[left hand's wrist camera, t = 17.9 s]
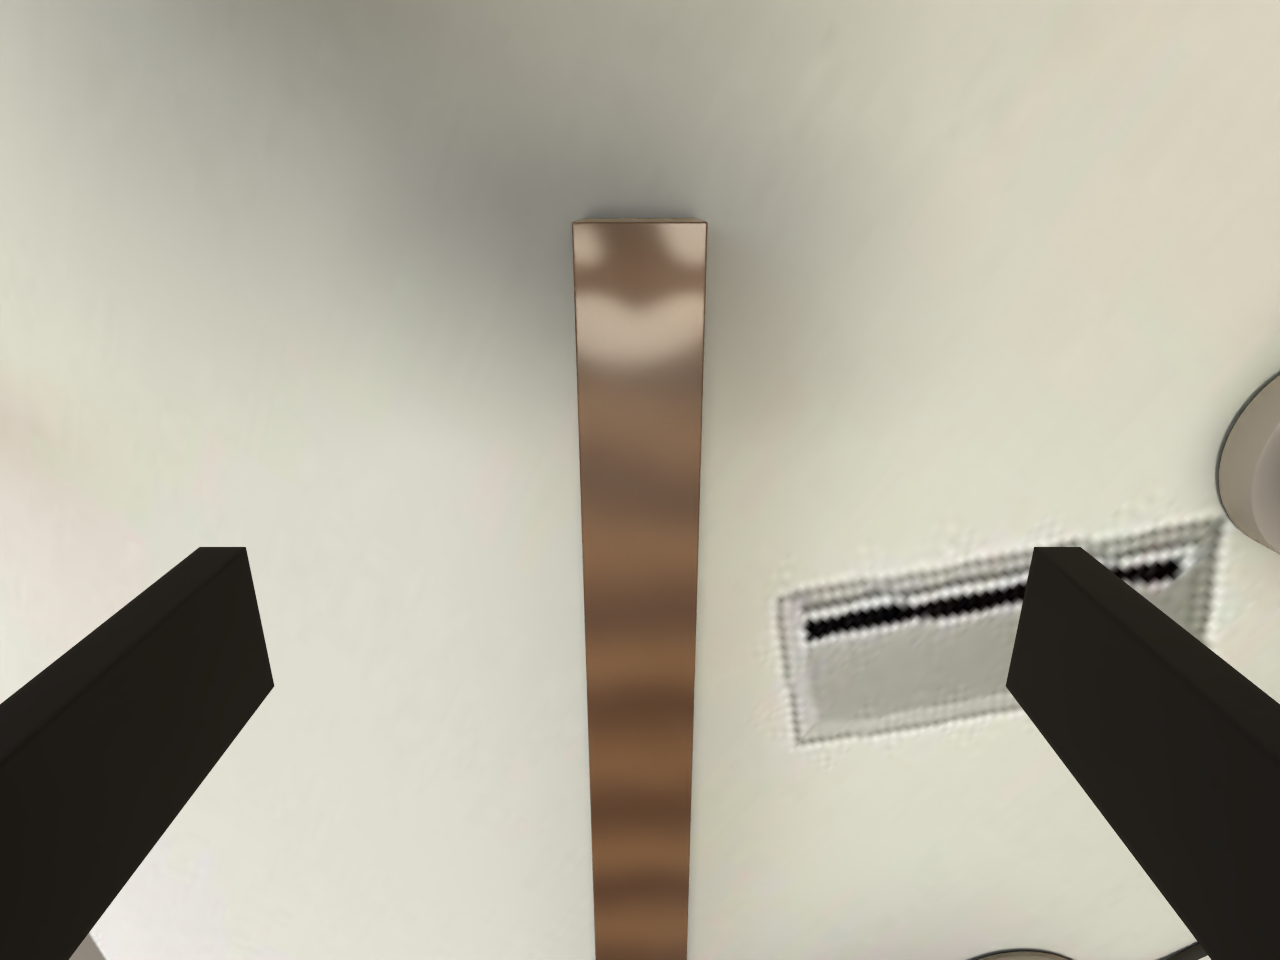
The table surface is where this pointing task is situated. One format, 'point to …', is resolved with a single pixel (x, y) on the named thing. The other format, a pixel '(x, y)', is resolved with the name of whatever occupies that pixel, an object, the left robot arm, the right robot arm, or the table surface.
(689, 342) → the beam
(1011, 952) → the right robot arm
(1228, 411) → the table surface
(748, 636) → the table surface
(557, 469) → the table surface
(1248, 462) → the bust sculpture
